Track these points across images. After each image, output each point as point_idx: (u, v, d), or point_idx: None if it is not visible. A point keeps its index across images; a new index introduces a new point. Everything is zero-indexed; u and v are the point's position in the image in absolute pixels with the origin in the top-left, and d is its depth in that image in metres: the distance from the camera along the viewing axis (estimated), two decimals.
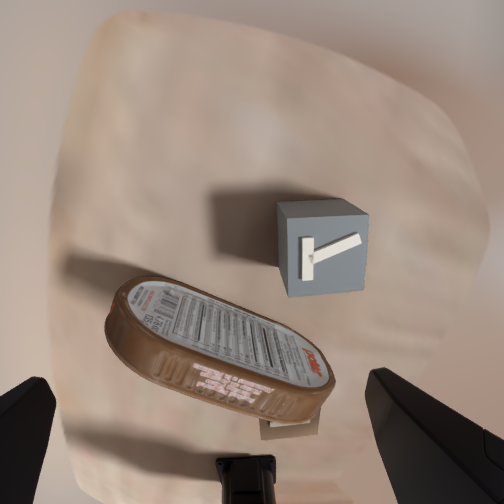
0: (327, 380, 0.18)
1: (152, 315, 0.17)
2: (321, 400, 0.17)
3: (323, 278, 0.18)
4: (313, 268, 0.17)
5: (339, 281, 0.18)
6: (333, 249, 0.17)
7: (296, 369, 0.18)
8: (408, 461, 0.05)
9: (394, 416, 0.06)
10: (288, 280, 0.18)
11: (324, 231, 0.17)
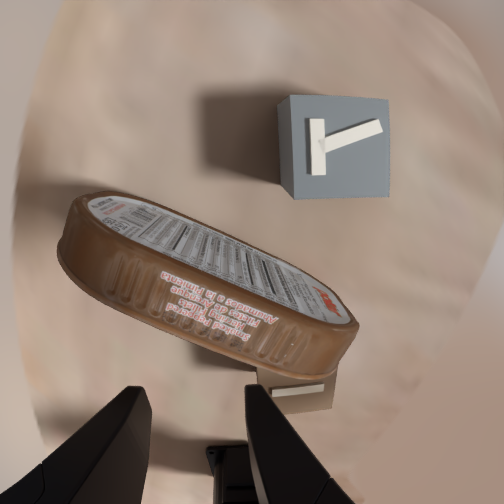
0: (349, 320, 0.14)
1: (115, 219, 0.12)
2: (343, 344, 0.13)
3: (338, 175, 0.13)
4: (325, 159, 0.13)
5: (359, 180, 0.13)
6: (349, 135, 0.12)
7: (307, 303, 0.14)
8: (259, 489, 0.05)
9: (248, 438, 0.06)
10: (294, 176, 0.13)
11: (336, 113, 0.12)
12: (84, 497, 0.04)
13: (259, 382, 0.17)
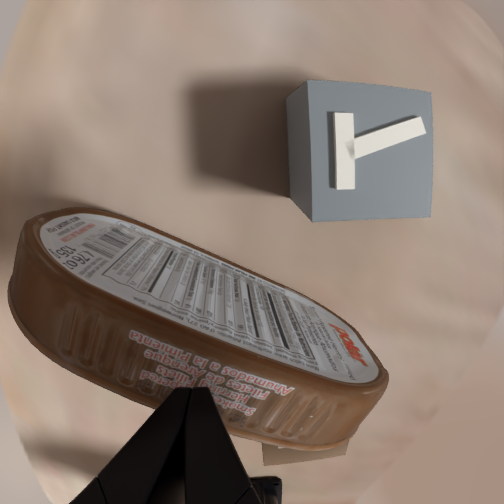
0: (377, 371, 0.10)
1: (75, 248, 0.09)
2: (372, 405, 0.09)
3: (370, 190, 0.10)
4: (354, 168, 0.09)
5: (395, 197, 0.10)
6: (385, 137, 0.09)
7: (327, 353, 0.10)
8: None
9: None
10: (312, 190, 0.10)
11: (369, 106, 0.09)
12: None
13: None
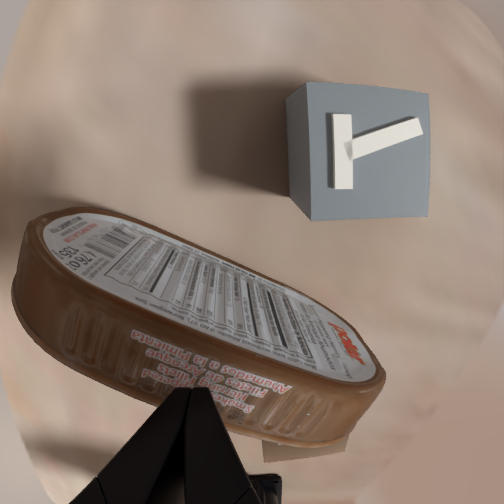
0: (374, 370, 0.11)
1: (78, 249, 0.09)
2: (369, 404, 0.09)
3: (368, 190, 0.10)
4: (351, 168, 0.10)
5: (393, 196, 0.10)
6: (382, 137, 0.09)
7: (325, 352, 0.11)
8: None
9: None
10: (311, 189, 0.10)
11: (366, 108, 0.09)
12: None
13: None
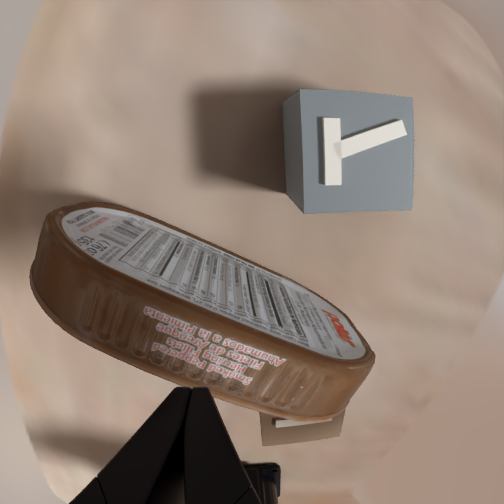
0: (364, 352, 0.12)
1: (94, 238, 0.10)
2: (359, 381, 0.11)
3: (356, 186, 0.11)
4: (340, 167, 0.11)
5: (379, 191, 0.11)
6: (369, 138, 0.10)
7: (318, 334, 0.12)
8: None
9: None
10: (304, 186, 0.11)
11: (354, 112, 0.10)
12: None
13: (262, 413, 0.15)
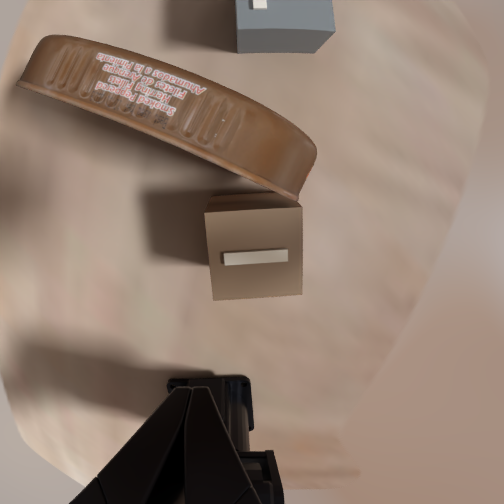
0: None
1: None
2: (291, 143, 0.11)
3: (280, 11, 0.11)
4: None
5: (301, 15, 0.12)
6: None
7: None
8: None
9: None
10: (237, 11, 0.11)
11: None
12: None
13: (208, 243, 0.15)
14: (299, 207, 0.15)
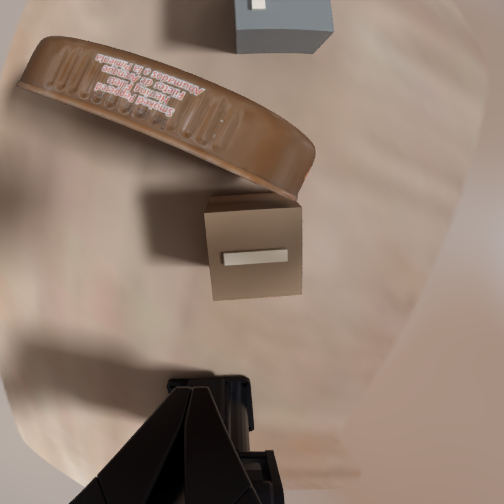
0: None
1: None
2: (290, 144, 0.11)
3: (279, 11, 0.11)
4: None
5: (300, 16, 0.12)
6: None
7: None
8: None
9: None
10: (236, 12, 0.12)
11: None
12: None
13: (208, 243, 0.15)
14: (299, 207, 0.15)
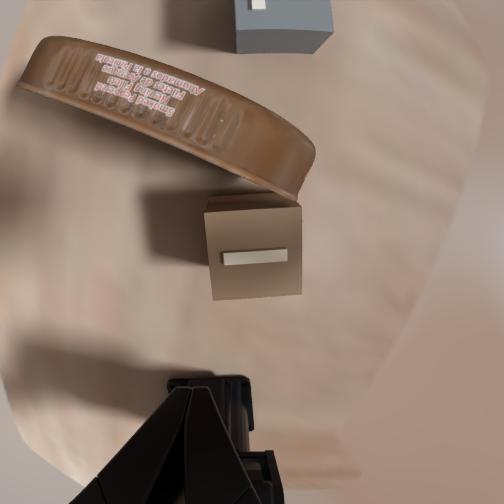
0: None
1: None
2: (290, 144, 0.11)
3: (279, 11, 0.11)
4: None
5: (300, 16, 0.12)
6: None
7: None
8: None
9: None
10: (236, 12, 0.12)
11: None
12: None
13: (208, 243, 0.15)
14: (298, 207, 0.15)
